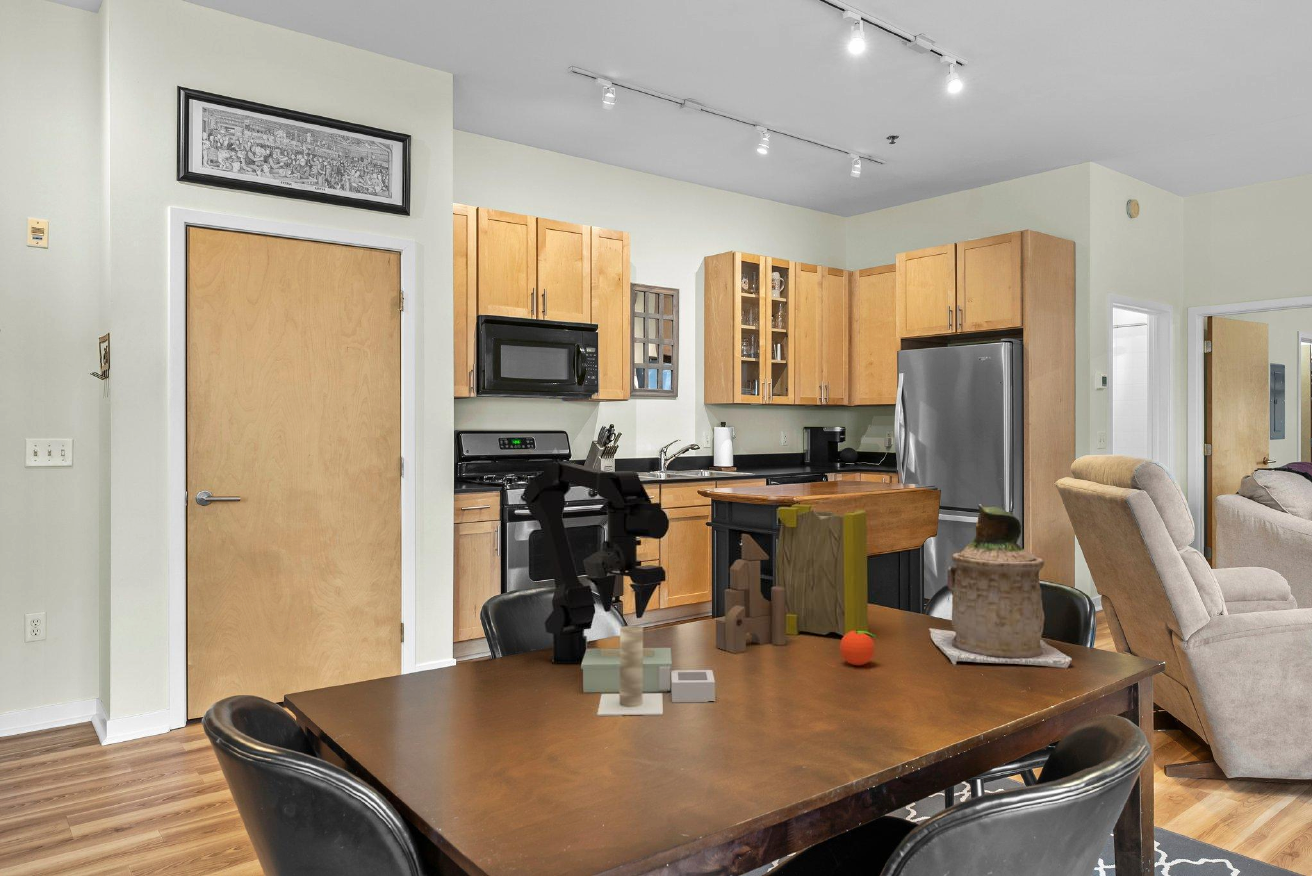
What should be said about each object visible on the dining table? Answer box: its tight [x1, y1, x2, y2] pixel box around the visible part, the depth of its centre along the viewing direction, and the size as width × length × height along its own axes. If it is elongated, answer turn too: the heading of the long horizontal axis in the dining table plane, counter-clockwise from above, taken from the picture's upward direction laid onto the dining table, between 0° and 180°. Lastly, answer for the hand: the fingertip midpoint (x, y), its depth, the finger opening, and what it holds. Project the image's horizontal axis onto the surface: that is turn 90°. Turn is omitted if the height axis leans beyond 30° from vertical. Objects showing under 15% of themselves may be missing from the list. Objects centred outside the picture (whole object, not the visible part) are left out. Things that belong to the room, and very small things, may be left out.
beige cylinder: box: [619, 625, 644, 707], centre depth 143 cm, size 4×4×13 cm
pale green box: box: [580, 647, 716, 703], centre depth 153 cm, size 24×18×6 cm
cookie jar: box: [928, 503, 1073, 669], centre depth 176 cm, size 25×25×32 cm
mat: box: [596, 692, 664, 717], centre depth 143 cm, size 11×11×1 cm
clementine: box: [839, 630, 875, 667], centre depth 167 cm, size 8×7×7 cm
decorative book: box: [775, 504, 869, 637], centre depth 195 cm, size 20×11×30 cm, turn 58°
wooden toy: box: [715, 533, 787, 654], centre depth 183 cm, size 15×7×25 cm, turn 121°
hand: (622, 614), depth 161 cm, fingers open, 9 cm apart
